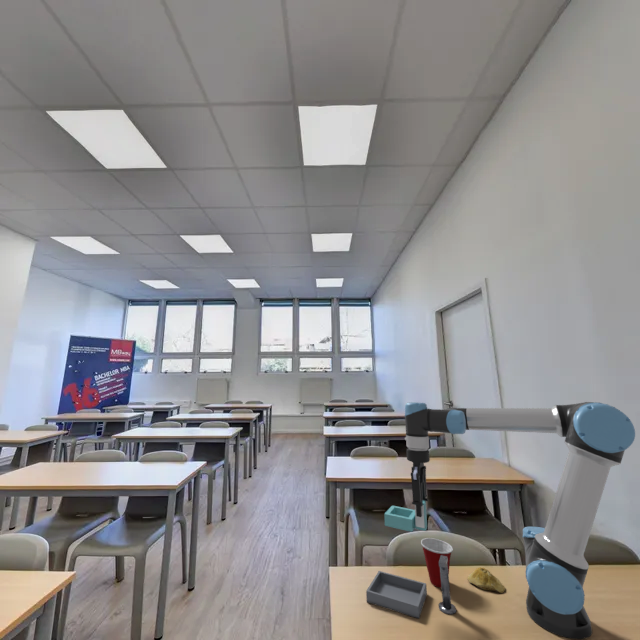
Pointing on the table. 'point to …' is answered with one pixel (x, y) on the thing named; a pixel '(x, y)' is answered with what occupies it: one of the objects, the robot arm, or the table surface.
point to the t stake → (445, 588)
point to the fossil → (486, 580)
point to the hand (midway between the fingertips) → (421, 524)
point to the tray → (397, 594)
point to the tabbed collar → (403, 518)
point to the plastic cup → (435, 557)
